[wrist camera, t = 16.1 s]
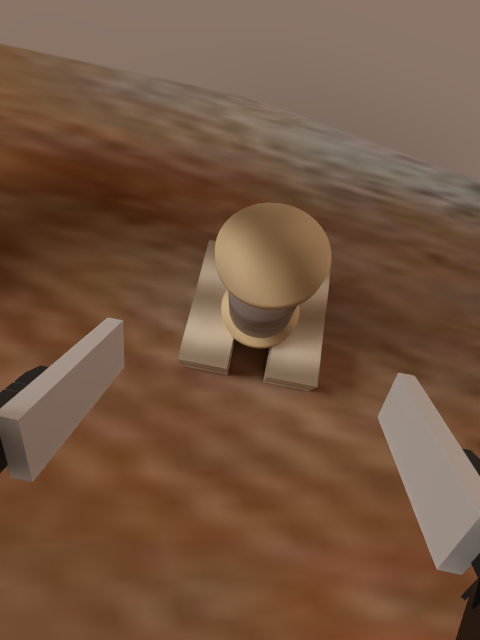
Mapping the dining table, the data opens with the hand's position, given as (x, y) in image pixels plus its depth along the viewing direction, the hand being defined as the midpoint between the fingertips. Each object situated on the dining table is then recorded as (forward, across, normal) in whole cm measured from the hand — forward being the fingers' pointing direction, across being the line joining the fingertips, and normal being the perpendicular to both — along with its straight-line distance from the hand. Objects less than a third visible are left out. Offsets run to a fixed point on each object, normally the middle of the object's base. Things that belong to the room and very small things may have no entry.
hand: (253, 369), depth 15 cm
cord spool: (+17, 0, -5) cm, 18 cm away
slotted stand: (+20, 0, -7) cm, 22 cm away
